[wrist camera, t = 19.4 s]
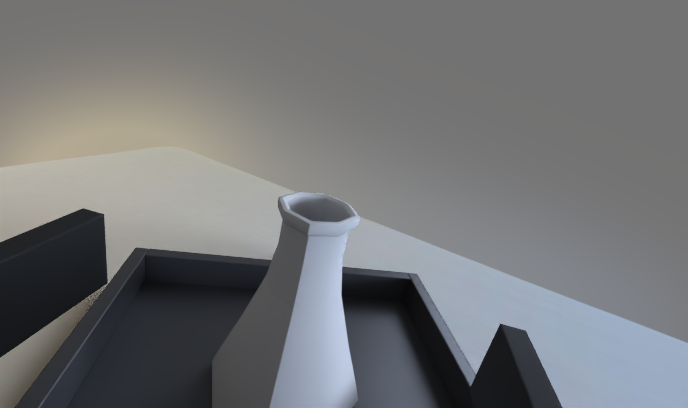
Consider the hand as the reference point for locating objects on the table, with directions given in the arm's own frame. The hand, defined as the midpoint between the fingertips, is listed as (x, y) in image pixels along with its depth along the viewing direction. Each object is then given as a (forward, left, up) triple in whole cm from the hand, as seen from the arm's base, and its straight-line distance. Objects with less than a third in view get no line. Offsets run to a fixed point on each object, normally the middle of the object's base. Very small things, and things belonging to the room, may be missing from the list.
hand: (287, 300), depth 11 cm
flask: (-1, -4, -8) cm, 9 cm away
